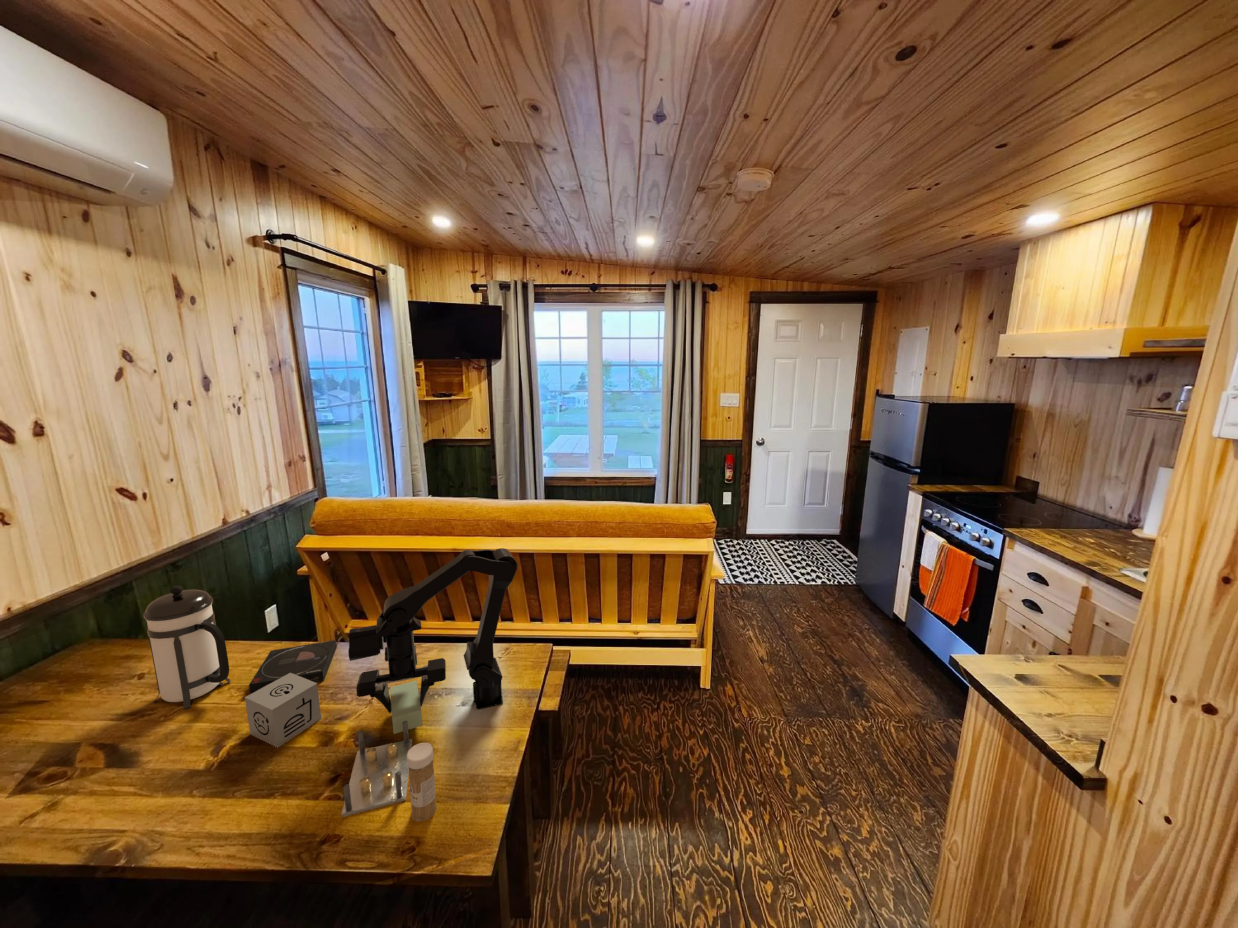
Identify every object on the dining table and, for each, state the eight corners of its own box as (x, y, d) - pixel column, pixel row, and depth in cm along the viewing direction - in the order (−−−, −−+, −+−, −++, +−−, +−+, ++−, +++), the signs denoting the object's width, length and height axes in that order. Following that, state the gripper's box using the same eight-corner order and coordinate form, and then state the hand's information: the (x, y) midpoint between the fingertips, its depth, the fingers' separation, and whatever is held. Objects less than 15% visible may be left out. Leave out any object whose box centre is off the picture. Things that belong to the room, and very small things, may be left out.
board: (391, 701, 115) (389, 687, 115) (417, 694, 118) (416, 680, 118) (393, 734, 105) (392, 718, 104) (422, 725, 108) (421, 709, 107)
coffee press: (141, 724, 111) (118, 606, 106) (167, 685, 125) (148, 580, 120) (233, 701, 119) (216, 591, 114) (247, 668, 133) (233, 568, 128)
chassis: (357, 754, 103) (355, 730, 102) (412, 742, 106) (410, 719, 105) (341, 818, 88) (338, 790, 87) (405, 801, 91) (403, 774, 90)
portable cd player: (337, 650, 143) (336, 638, 142) (324, 684, 127) (322, 671, 126) (273, 661, 137) (271, 649, 136) (251, 698, 121) (249, 684, 120)
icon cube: (321, 720, 113) (317, 683, 111) (277, 749, 104) (272, 709, 102) (295, 708, 117) (290, 672, 115) (250, 735, 108) (244, 697, 106)
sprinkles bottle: (407, 813, 89) (401, 751, 87) (429, 797, 92) (425, 737, 90) (418, 828, 86) (413, 764, 84) (441, 811, 89) (437, 749, 87)
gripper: (444, 624, 119) (447, 680, 122) (362, 637, 113) (367, 695, 116) (443, 648, 109) (447, 707, 112) (353, 663, 103) (359, 726, 106)
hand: (406, 708), depth 111 cm, fingers closed on board, 6 cm apart
